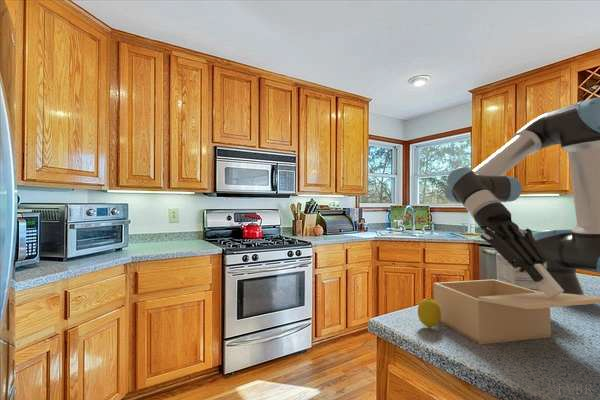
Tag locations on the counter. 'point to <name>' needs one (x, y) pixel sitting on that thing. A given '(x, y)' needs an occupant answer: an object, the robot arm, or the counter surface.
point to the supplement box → (514, 274)
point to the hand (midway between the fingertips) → (556, 294)
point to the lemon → (429, 312)
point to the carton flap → (540, 300)
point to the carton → (489, 312)
